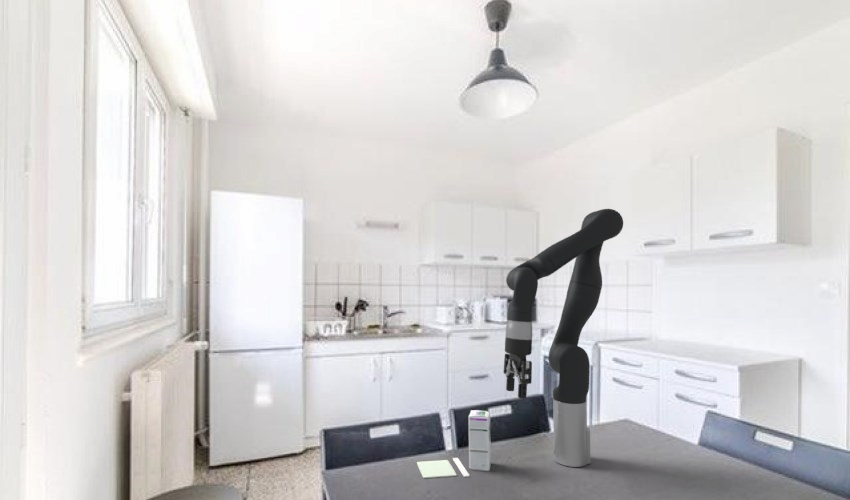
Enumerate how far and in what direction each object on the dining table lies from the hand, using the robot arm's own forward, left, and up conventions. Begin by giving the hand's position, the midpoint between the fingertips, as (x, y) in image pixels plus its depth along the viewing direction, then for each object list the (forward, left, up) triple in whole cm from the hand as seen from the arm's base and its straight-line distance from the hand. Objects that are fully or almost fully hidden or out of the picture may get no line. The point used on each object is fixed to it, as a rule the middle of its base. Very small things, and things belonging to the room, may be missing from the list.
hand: (515, 394), depth 124 cm
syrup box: (+10, -1, -20) cm, 22 cm away
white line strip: (+16, -1, -19) cm, 25 cm away
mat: (+23, -1, -19) cm, 30 cm away
